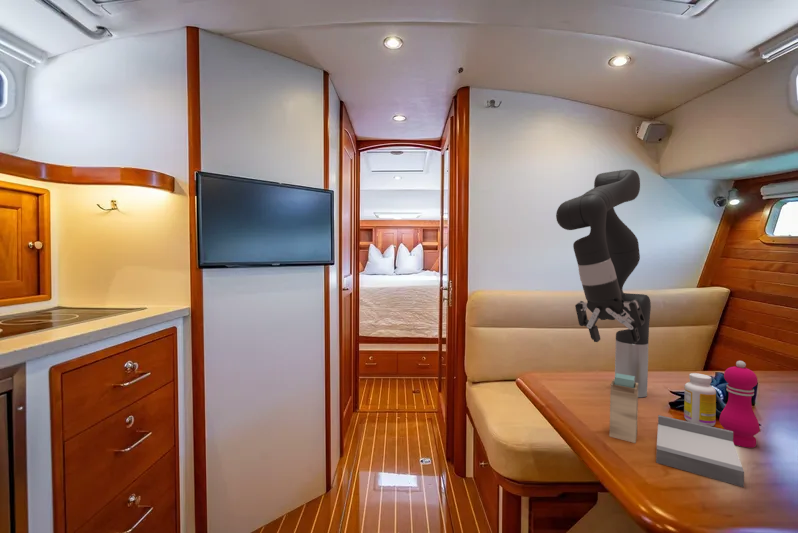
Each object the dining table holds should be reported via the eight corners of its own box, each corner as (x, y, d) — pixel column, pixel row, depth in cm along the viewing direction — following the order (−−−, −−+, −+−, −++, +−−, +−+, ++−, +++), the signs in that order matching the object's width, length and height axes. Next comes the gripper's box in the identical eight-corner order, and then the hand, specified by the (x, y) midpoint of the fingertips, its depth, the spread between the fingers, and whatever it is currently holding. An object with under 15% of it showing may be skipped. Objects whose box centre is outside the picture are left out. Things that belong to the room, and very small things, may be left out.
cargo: (616, 384, 94) (616, 373, 94) (634, 388, 92) (634, 376, 92) (614, 389, 91) (614, 377, 91) (633, 392, 88) (633, 380, 88)
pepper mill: (767, 450, 85) (770, 366, 84) (731, 447, 86) (734, 364, 86) (744, 435, 92) (747, 357, 91) (711, 432, 93) (714, 356, 93)
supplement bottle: (719, 424, 98) (720, 377, 98) (709, 429, 95) (710, 381, 95) (689, 414, 104) (691, 370, 104) (679, 419, 101) (680, 374, 100)
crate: (612, 428, 95) (613, 378, 95) (637, 434, 92) (638, 383, 92) (609, 436, 91) (610, 384, 91) (635, 443, 88) (636, 389, 87)
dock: (657, 434, 92) (658, 415, 92) (732, 452, 84) (732, 431, 84) (656, 462, 79) (656, 440, 79) (743, 487, 71) (744, 462, 71)
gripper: (637, 271, 83) (654, 336, 84) (576, 276, 94) (592, 334, 96) (624, 281, 79) (642, 350, 80) (562, 286, 90) (579, 346, 92)
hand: (615, 341), depth 88 cm, fingers open, 8 cm apart
